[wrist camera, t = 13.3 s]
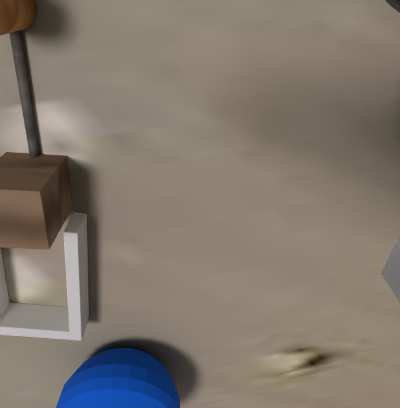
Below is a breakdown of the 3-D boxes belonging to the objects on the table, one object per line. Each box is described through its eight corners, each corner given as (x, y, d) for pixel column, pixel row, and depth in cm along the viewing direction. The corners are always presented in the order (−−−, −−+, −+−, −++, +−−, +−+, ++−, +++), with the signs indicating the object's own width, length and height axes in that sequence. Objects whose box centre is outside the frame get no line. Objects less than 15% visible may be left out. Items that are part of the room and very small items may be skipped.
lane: (-20, 202, 47) (-40, 222, 43) (86, 213, 48) (77, 233, 44) (-1, 309, 56) (-15, 333, 52) (88, 316, 57) (81, 340, 53)
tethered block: (-29, -25, 35) (-102, -29, 26) (47, -18, 35) (-1, -21, 27) (16, 203, 47) (-23, 252, 39) (72, 206, 48) (45, 255, 39)
